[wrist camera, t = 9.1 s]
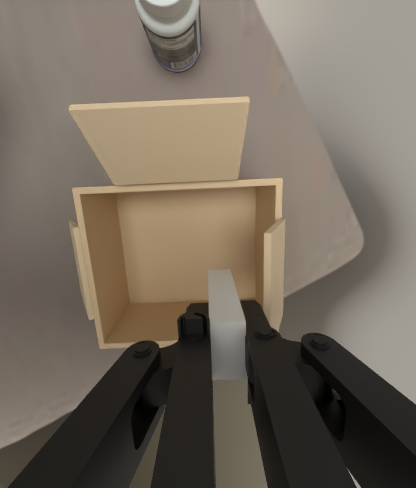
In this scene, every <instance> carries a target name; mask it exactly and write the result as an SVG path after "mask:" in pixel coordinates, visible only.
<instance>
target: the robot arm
mask: <svg viewBox="0 0 416 488" xmlns="http://www.w3.org/2000/svg"><path fill="white" fill-rule="evenodd" d="M208 294H209V302H206V303H191V304H190V305H189V306H188V307H187V308H186V313H184V314H182V315H180V316H179V317H178V319H177V325H178V341H177V342H176V343H174V344H172V345H169V346H166V347H162V348H160V347H159V344H157V343H156V342H154V341H151V340H144V341H139V342H136V343H134V344H132V345H131V346H130V347H129V348H127V349H126V351H125V352H124V353H123V354H122V355H121V356H120V358H119V359H118V360H117V361H116V362H115V363H114V364H113V366H112V367H111V368H110V369H109V370H108V371H107V373H106V374H105V375H104V376H103V377H102V378H101V380H100V381H99V382H98V383H97V384H96V385H95V387H94V388H93V389H92V390H91V391H90V392H89V394H88V395H87V396H86V397H85V398H84V399H83V401H82V402H81V403H80V404H79V405H78V406H77V408H76V409H75V410H74V411H73V412H72V413H71V415H70V416H69V417H68V418H67V419H66V421H65V422H64V423H63V424H62V425H61V426H60V427H59V429H58V430H57V431H56V432H55V433H54V434H53V436H52V437H51V438H50V439H49V440H48V441H47V443H46V444H45V445H44V446H43V447H42V448H41V450H40V451H39V452H38V453H37V454H36V455H35V457H34V458H33V459H32V460H31V461H30V462H29V463H28V465H27V466H26V467H25V468H24V469H23V471H22V472H21V473H20V474H19V475H18V476H17V478H16V479H15V480H14V481H13V482H12V483H11V484H10V486H9V487H8V488H128V487H129V485H130V483H131V481H132V478H133V476H134V474H135V472H136V470H137V468H138V465H139V463H140V461H141V459H142V456H143V454H144V452H145V450H146V448H147V446H148V444H149V441H150V439H151V437H152V435H153V433H154V430H155V428H156V426H157V424H158V422H159V419H160V417H161V415H162V413H163V411H164V407H165V404H166V408H165V413H164V418H163V424H162V429H161V434H160V440H159V445H158V450H157V456H156V462H155V466H154V472H153V477H152V483H151V488H216V477H215V446H214V415H213V385H212V380H223V379H246V372H247V376H248V404H251V407H252V411H253V416H254V421H255V426H256V431H257V437H258V441H259V446H260V451H261V456H262V461H263V466H264V471H265V476H266V481H267V486H268V488H357V487H356V485H355V483H354V481H353V479H352V477H351V475H350V473H351V474H352V475H353V477H354V478H355V480H356V481H357V482H358V484H359V485H360V487H361V488H416V405H415V404H414V403H413V402H412V401H410V400H409V399H408V398H407V397H405V396H404V395H403V394H402V393H400V392H399V391H398V390H397V389H395V388H394V387H393V386H392V385H390V384H389V383H388V382H386V381H385V380H384V379H383V378H381V377H380V376H379V375H378V374H376V373H375V372H374V371H373V370H371V369H370V368H369V367H368V366H366V365H365V364H364V363H363V362H361V361H360V360H359V359H357V358H356V357H355V356H354V355H353V354H351V353H350V352H349V351H348V350H346V349H345V348H344V347H342V346H341V345H340V344H339V343H337V342H336V341H335V340H334V339H332V338H330V337H328V336H326V335H323V334H319V333H308V334H306V335H303V337H302V338H301V342H295V341H290V340H286V339H283V338H281V335H280V333H279V332H278V331H277V330H276V329H274V328H272V327H271V326H270V324H269V322H268V320H267V318H266V315H265V313H264V311H263V309H262V307H261V305H260V304H259V303H258V302H257V301H255V300H239V297H238V293H237V290H236V286H235V283H234V280H233V276H232V273H231V269H215V270H208ZM347 468H348V469H347ZM348 470H349V471H350V473H349V471H348Z"/></svg>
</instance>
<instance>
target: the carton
mask: <svg viewBox="0 0 416 488" xmlns="http://www.w3.org/2000/svg"><path fill="white" fill-rule="evenodd" d="M282 183H283V178H273V179H251V180H230V181H208V182H187V183H165V184H144V185H122V186H101V187H79V188H72V191H73V197H74V203H75V209H76V215H77V221H78V227H79V232H80V238H81V244H82V250H83V256H84V262H85V268H86V274H87V279H88V285H89V291H90V297H91V303H92V309H93V315H94V320H95V326H96V332H97V338H98V344H99V349H110V348H129V347H130V346H131V345H132V344H134V343H136V342H139V341H144V340H151V341H154V342H156V343H157V344H159V346H169V345H172V344H174V343H176V342H177V341H178V325H177V319H178V317H179V316H180V315H182V314H184V313H186V308H187V307H188V306H189V305H190V304H191V303H206V302H209V294H208V270H215V269H231V273H232V276H233V280H234V283H235V286H236V290H237V293H238V297H239V300H255V301H257V302H258V303H259V304H260V305H261V307H262V309H263V298H264V233H265V232H266V231H267V230H268V229H269V228H270V227H271V226H272V225H274V224H275V223H276V222H277V221H278V220H279V219H282ZM278 332H279V330H278Z"/></svg>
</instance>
